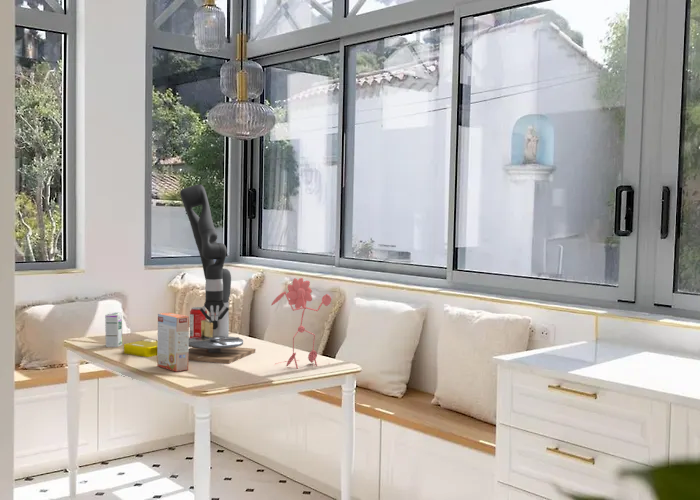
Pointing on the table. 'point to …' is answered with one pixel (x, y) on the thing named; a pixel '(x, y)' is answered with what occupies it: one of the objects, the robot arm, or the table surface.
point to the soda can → (196, 321)
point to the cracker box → (173, 341)
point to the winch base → (219, 354)
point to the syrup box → (113, 329)
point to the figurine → (299, 297)
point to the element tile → (142, 348)
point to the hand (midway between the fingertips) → (214, 329)
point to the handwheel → (213, 339)
